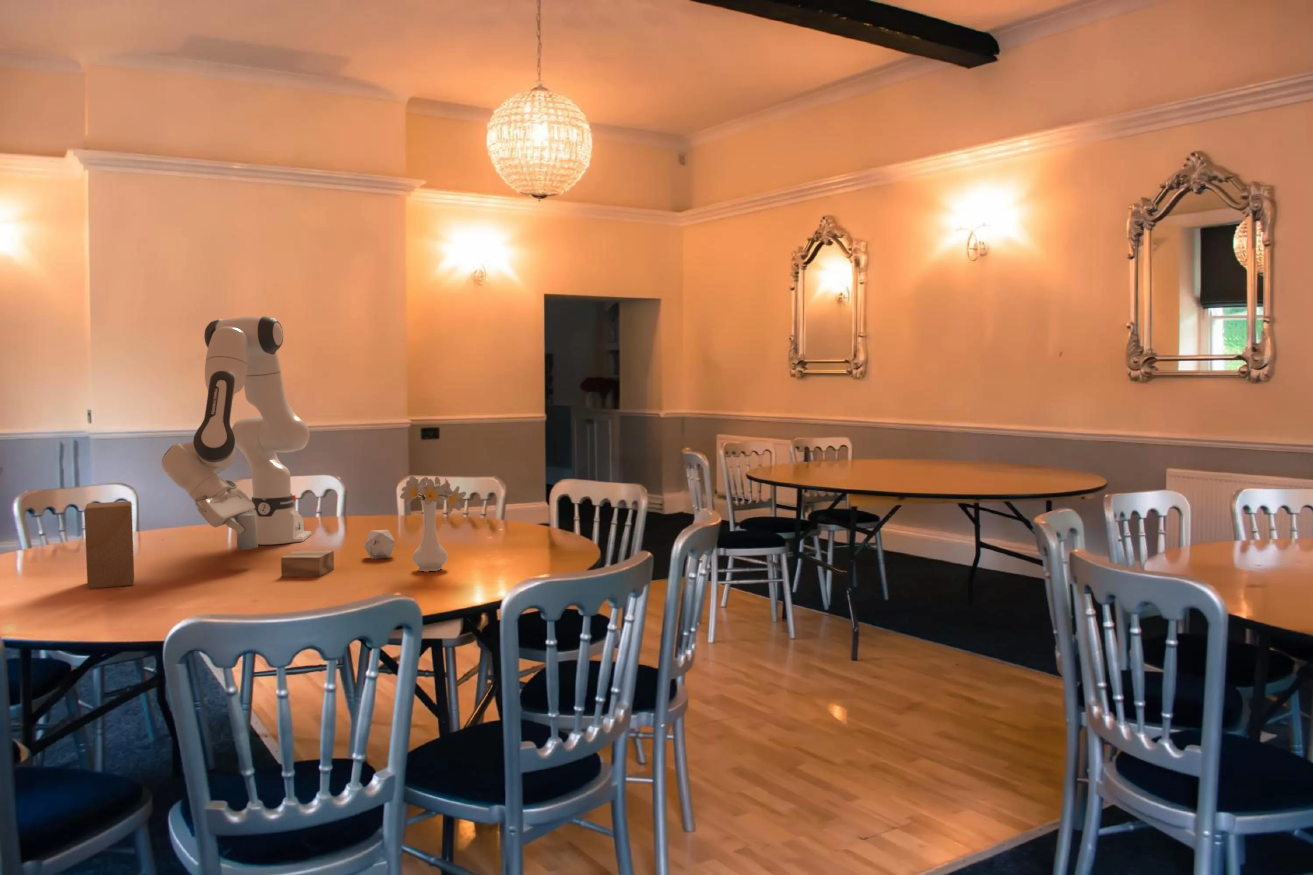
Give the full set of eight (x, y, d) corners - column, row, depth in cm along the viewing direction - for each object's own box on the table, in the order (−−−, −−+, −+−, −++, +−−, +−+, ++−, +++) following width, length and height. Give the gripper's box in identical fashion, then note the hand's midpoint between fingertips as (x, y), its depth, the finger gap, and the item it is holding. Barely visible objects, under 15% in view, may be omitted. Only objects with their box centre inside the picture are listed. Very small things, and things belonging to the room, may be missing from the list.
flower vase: (452, 576, 254) (450, 480, 252) (389, 572, 259) (387, 478, 258) (475, 567, 266) (474, 475, 265) (415, 563, 272) (414, 473, 270)
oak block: (297, 568, 264) (296, 550, 264) (333, 569, 264) (333, 550, 264) (281, 576, 254) (281, 557, 254) (319, 576, 254) (319, 557, 254)
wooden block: (87, 589, 239) (84, 508, 238) (89, 581, 248) (86, 503, 247) (133, 585, 244) (131, 505, 243) (134, 578, 253) (131, 500, 252)
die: (358, 559, 281) (359, 536, 275) (374, 540, 287) (375, 517, 281) (383, 570, 279) (384, 547, 274) (399, 551, 286) (401, 528, 280)
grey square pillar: (242, 545, 270) (240, 512, 269) (261, 545, 270) (259, 512, 269) (233, 549, 265) (231, 516, 264) (252, 549, 265) (250, 516, 264)
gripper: (199, 491, 256) (238, 528, 256) (236, 480, 276) (272, 514, 277) (184, 508, 256) (222, 545, 257) (222, 496, 277) (257, 530, 277)
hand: (248, 529), depth 267 cm, fingers closed on grey square pillar, 5 cm apart
